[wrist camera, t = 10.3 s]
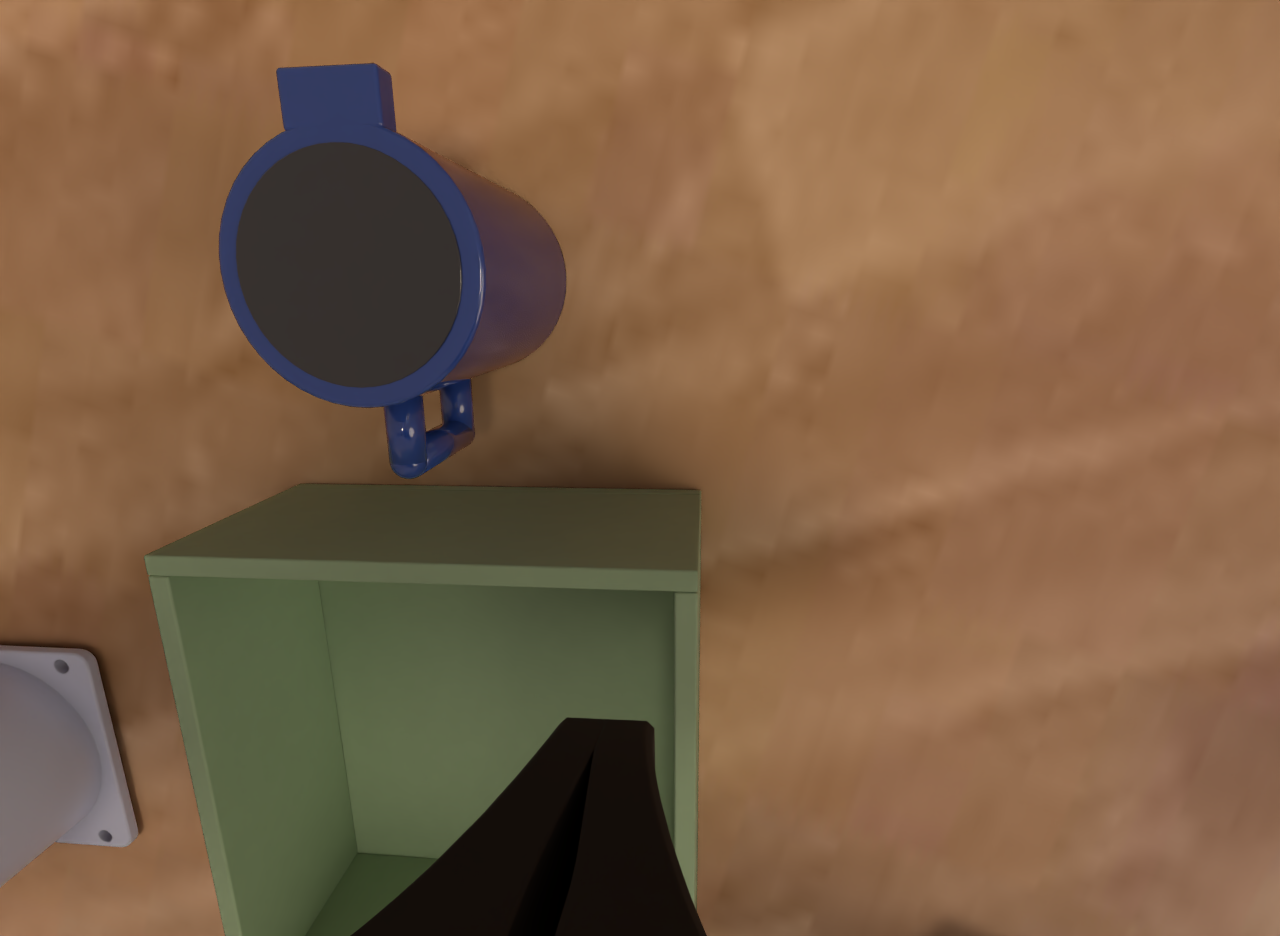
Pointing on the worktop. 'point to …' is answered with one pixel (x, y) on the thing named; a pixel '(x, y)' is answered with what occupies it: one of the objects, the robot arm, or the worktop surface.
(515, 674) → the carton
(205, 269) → the worktop surface
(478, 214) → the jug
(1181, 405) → the worktop surface
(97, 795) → the robot arm
